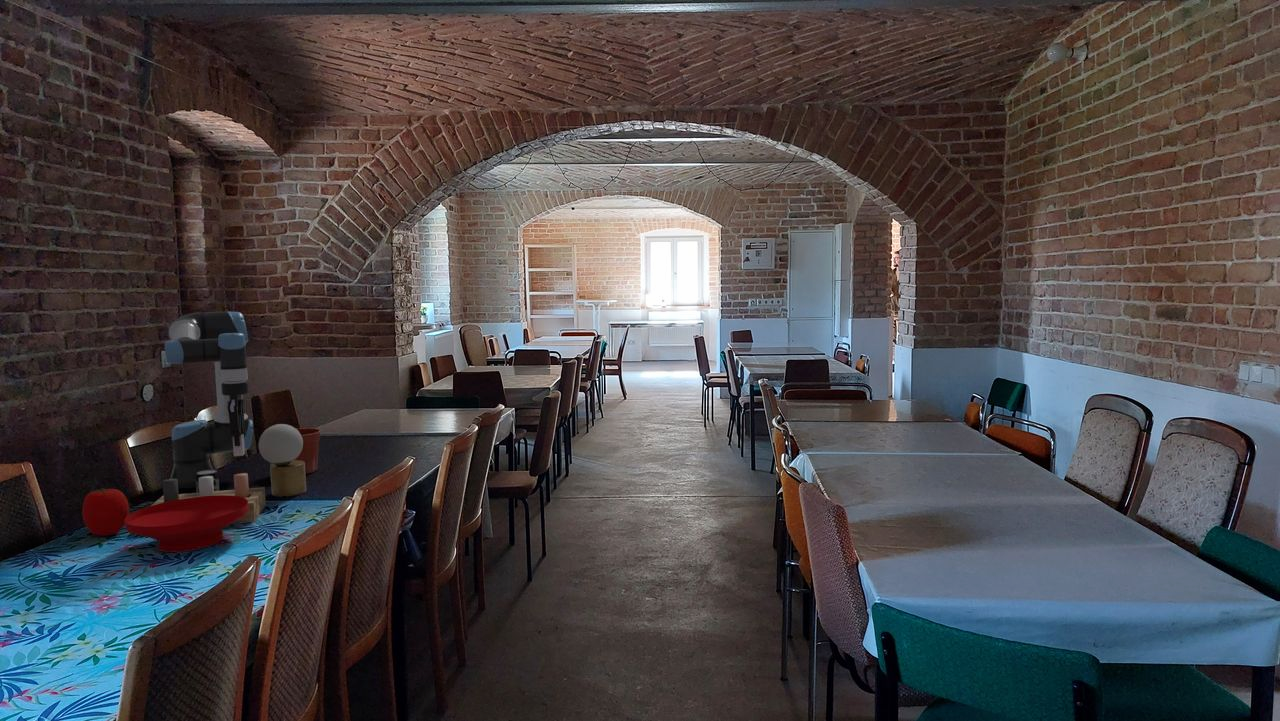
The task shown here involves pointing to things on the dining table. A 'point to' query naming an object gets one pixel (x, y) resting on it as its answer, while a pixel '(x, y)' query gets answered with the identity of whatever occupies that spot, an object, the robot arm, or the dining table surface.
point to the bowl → (187, 521)
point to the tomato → (105, 511)
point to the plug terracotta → (241, 485)
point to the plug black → (170, 490)
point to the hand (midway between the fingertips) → (239, 455)
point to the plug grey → (206, 486)
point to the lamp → (284, 459)
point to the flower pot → (309, 448)
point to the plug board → (254, 500)
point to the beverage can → (208, 473)
